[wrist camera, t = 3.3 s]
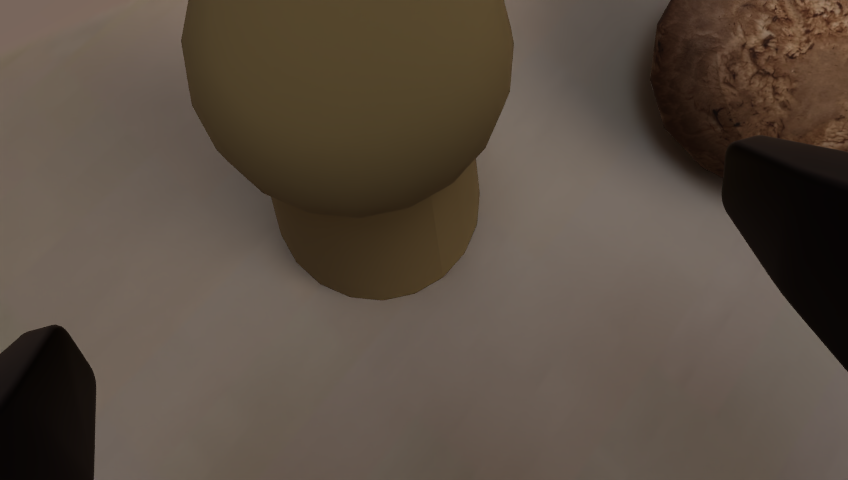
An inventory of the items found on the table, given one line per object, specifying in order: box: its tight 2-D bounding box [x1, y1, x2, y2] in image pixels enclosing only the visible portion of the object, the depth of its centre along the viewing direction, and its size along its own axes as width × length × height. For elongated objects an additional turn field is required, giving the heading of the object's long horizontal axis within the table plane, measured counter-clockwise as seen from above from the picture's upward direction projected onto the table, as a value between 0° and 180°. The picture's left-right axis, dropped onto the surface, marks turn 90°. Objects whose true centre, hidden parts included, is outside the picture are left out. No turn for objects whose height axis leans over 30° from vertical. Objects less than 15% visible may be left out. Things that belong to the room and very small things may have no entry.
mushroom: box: [650, 0, 848, 178], centre depth 19 cm, size 8×8×6 cm
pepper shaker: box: [181, 0, 514, 300], centre depth 15 cm, size 6×6×11 cm
